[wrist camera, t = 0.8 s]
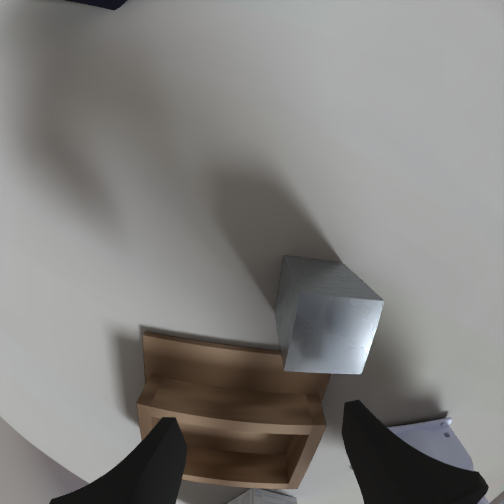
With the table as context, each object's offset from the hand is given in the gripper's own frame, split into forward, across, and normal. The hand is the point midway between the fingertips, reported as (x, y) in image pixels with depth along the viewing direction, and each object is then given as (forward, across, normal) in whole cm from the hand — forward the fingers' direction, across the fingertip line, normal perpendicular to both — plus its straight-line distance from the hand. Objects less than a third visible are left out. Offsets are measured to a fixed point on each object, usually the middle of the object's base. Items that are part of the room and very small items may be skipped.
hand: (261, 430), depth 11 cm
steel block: (+10, -4, -3) cm, 11 cm away
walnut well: (+10, +3, +9) cm, 14 cm away
